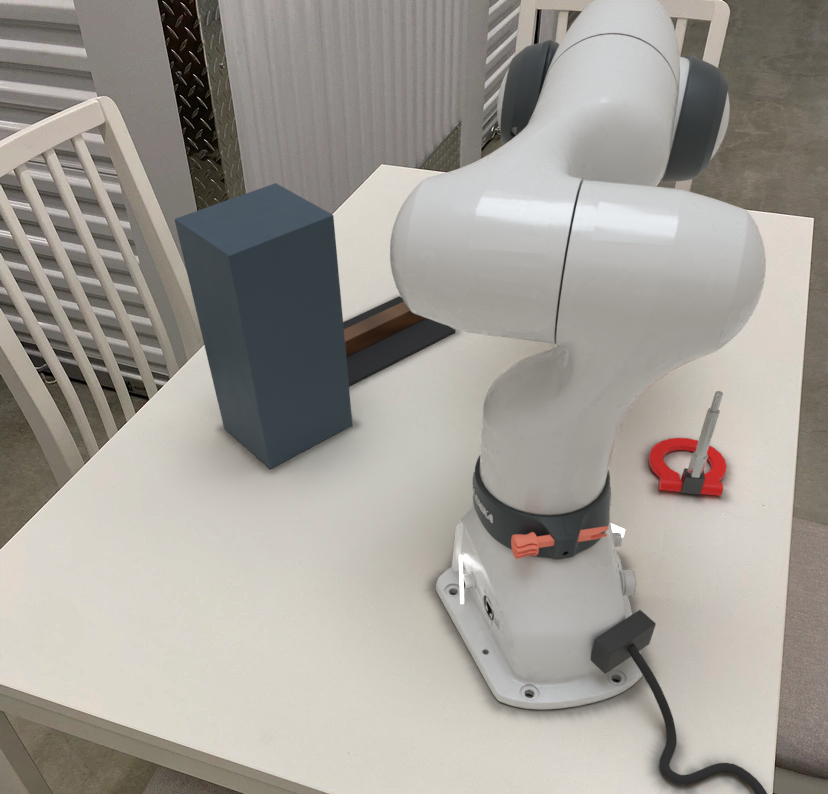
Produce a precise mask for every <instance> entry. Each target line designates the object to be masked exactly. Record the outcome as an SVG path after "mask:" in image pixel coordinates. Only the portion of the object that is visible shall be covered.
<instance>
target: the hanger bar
mask: <svg viewBox="0 0 828 794" xmlns="http://www.w3.org/2000/svg"><path fill="white" fill-rule="evenodd" d="M423 319H425V317H422V316H420V315H417V314H414V313H413V312H411V311H410V309H409V308H408V307H407V305H406V304H405V302H402V303H400V304H398V305H396V306H393V307H391V308H389V309H387V310H385V311H383V312H381V313H378V314H376V315H374V316H372V317H370V318H368V319H365V320H363V321H361V322H359V323H357V324H355V325H353V326H350V327H348V328H346V329H344V338H345V348H346V357H347V356H349V355H351V354H353V353H355V352H357V351H359V350H362V349H364V348H366V347H368V346H370V345H372V344H374V343H376V342H378V341H380V340H382V339H384V338H386V337H388V336H390V335H392V334H395V333H397V332H399V331H401V330H403V329H405V328H407V327H409V326H411V325H413V324H415V323H417V322H419V321H421V320H423Z"/></svg>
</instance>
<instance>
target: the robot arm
mask: <svg viewBox="0 0 828 794" xmlns="http://www.w3.org/2000/svg"><path fill="white" fill-rule="evenodd" d="M728 90H729V82H728V80H727V78H726V77H725V76H724V74H723V72H722V71H721V70H720V68H719V67H718V66H716V65H713V64H712V63H710V62H707V61H705V60H703V59H701V58H698V56H696V55H695V54H694V53H690V56H688V55H683V56H680V51H679V42H678V38H677V34H676V30H675V25H674V22H673V19H672V18H671V16H670V14H669V13H668V11H667V9H666V8H665V7H664V6H663V5H662V3H660V2H659V0H593V1H592V2H590V3H588V4H587V6H585V8H583V10H582V11H581V12H580V13H579V14H578V15H577V17H576V18H575V19H574V21H573V22H572V23H571V25H570V26H569V28H568V29H567V31H566V33H565V34H564V36H563V38H562V39H561V41H560V43H559V42H557V41H554V40H551V39H548V40H543V42H539V43H533V44H531V45H527V46H525V47H524V48H523V49H522V50H520V51H519V52H518V53H517V54H515V56H514V57H512V59H511V61H510V63H509V67H508V69H507V71H506V72H505V75H504V77H503V79H502V82H501V84H500V87H499V91H498V96H497V102H496V105H497V106H496V119H497V125H498V130H499V134H500V135H499V136H500V142H501V144H502V146H500V147H498V148H497V149H495V150H494V151H492V152H491V153H489V154H487V155H485V156H483V157H482V158H479V159H478V160H476V161H474V162H471V163H469V164H467V165H464V166H462V167H460V168H456V169H453V170H450V171H447V172H444V173H440V174H437V175H432V176H429V177H426V178H424V179H423V180H421V182H419V184H417V185H416V186H415V187H414V189H412V191H411V192H410V193H409V195H408V196H407V197H406V198H405V200H404V201H403V203H402V205H401V207H400V209H399V210H398V213H397V215H396V218H395V220H394V223H393V226H392V230H391V235H390V242H389V262H390V270H391V276H392V278H393V281H394V285H395V287H396V289H397V291H398V294H399V296H400V297H401V298H402V299H403V301H404V302H405V304H406V305H407V307H408V308H409V309H410V311H411V312H413V313H414V314H417V315H420V316H422V317H425V318H428V319H430V320H433V321H436V322H439V323H441V324H444V325H447V326H450V327H451V328H453V329H455V330H459V331H462V332H465V333H468V334H474V335H475V334H477V335H482V336H483V335H484V336H491V337H498V338H504V339H512V340H513V339H514V340H521V341H527V342H535V343H543V344H549V345H550V344H551V345H556V346H555V347H552V348H550V349H548V350H545V351H542V352H538V353H535V354H532V355H530V356H527V357H525V358H522V359H520V360H519V361H517V362H515V363H514V364H512V365H511V366H509V367H508V368H507V369H505V371H504V372H502V373H501V374H499V376H498V377H497V378H496V379H495V380H494V381H493V383H492V384H491V385H490V387H489V389H488V391H487V392H486V395H485V396H484V397H485V398H484V400H483V404H482V419H481V435H480V453H479V455H478V457H477V459H476V462H475V466H474V472H473V475H472V482H471V483H472V484H471V488H472V503H471V505H470V506H469V508H468V509H467V511H466V512H465V513H464V514H463V515H462V517H461V519H459V521H458V522H457V524H456V526H455V531H454V533H455V534H454V541H453V551H452V560H451V565H450V567H449V568H447V569H446V570H444V572H443V573H441V574H440V575H439V577H438V578H437V580H436V585H435V591H436V593H437V595H438V597H439V599H440V601H441V603H442V604H443V606H444V608H445V610H446V612H447V613H448V615H449V617H450V619H451V621H452V623H453V624H454V626H455V628H456V630H457V632H458V634H459V636H460V637H461V639H462V642H464V644H465V646H466V648H467V650H468V652H469V654H470V656H471V657H472V659H473V660H474V663H475V664H476V666H477V668H478V670H479V672H480V673H481V676H482V677H483V679H484V681H485V683H486V684H487V686H488V688H489V689H490V691H491V694H492V695H493V696H494V698H495V699H496V700H497V701H498V702H500V703H502V704H505V705H508V706H512V707H514V708H515V707H516V708H520V709H527V710H528V709H529V710H554V709H555V710H557V709H558V710H559V709H567V708H574V707H580V706H584V705H588V704H595V703H598V702H601V701H604V700H607V699H610V698H613V697H615V696H618V695H620V694H621V693H622V694H623V692H625V691H627V690H629V689H630V688H631V687H633V686H634V685H635V684H636V683H637V682H638V681H640V679H641V678H642V677H643V678H644V679H645V682H646V683H647V684H648V687H649V688H650V690H651V693H653V697H654V699H655V701H656V703H657V705H658V708H659V710H660V713H661V716H662V718H663V722H664V726H665V731H666V743H665V746H664V749H663V751H662V752H661V754H660V755H661V756H660V758H659V771H660V772H661V774H662V775H663V776H664V777H665V778H666V780H669V781H670V782H671V783H673V784H676V785H679V786H689V785H695V784H697V783H699V782H702V781H704V780H707V779H709V778H711V777H714V776H716V775H719V774H726V773H727V774H732V775H735V776H737V777H738V778H739V779H741V780H742V781H743V782H745V783H746V784H747V785H748V786H749V787H750V788H751V789H752V791H753V793H754V794H768V792H767V790H766V789H765V787H764V786H763V785H762V784H761V782H760V781H759V780H758V779H757V778H756V777H755V776H754V775H752V774H751V772H749V771H747V770H746V769H745V768H743V767H742V766H739V765H737V764H735V763H730V762H718V763H714V764H711V765H708V766H706V767H703V768H701V769H699V770H697V771H695V772H691V773H687V774H680V773H677V772H675V771H674V770H672V768H671V766H670V762H671V759H672V758H673V755H674V753H675V750H676V747H677V732H676V731H677V730H676V725H675V721H674V717H673V713H672V710H671V708H670V705H669V703H668V701H667V698H666V696H665V693H664V691H663V689H662V687H661V685H660V683H659V682H658V680H657V678H656V676H655V674H654V673H653V671H652V669H651V668H650V666H649V665H648V662H646V660H645V658H644V657H643V656H642V653H641V651H642V650H643V649H644V648H646V647H647V646H649V645H650V644H651V639H652V637H653V634H654V631H655V628H656V625H657V623H656V622H655V621H654V620H653V619H652V618H650V617H649V616H648V615H647V614H646V613H645V612H643V610H641V609H639V610H637V611H635V612H634V613H633V612H632V607H631V601H630V598H629V596H633V595H635V594H636V591H637V577H636V573H635V571H633V570H631V569H627V570H624V569H623V565H622V562H621V557H620V555H619V554H618V553H617V551H616V548H619V547H621V546H622V545H623V544H622V543H623V538H624V536H625V532H626V529H625V528H623V527H621V526H618V525H616V524H614V523H612V522H611V517H610V516H611V515H610V512H611V510H610V509H611V506H612V492H611V491H612V487H611V475H610V469H609V468H610V464H611V460H612V456H613V453H614V449H615V446H616V443H617V440H618V436H619V433H620V430H621V427H622V425H623V422H624V420H625V418H626V416H627V414H628V413H629V411H630V410H631V408H632V407H633V406H634V404H635V403H636V402H637V401H638V400H639V398H640V397H641V396H642V395H643V394H644V393H645V392H647V391H649V389H650V388H651V387H652V386H654V384H656V383H658V382H659V381H660V380H661V379H663V378H664V377H666V376H668V374H670V373H673V371H675V370H677V369H679V368H681V367H683V366H684V365H686V364H688V363H691V362H694V361H696V360H698V359H700V358H703V357H704V358H705V357H706V356H709V355H712V354H714V353H716V352H718V351H719V350H721V349H722V348H724V347H725V346H727V344H729V343H730V342H731V341H732V340H733V339H734V338H735V337H736V336H738V334H739V333H740V332H741V331H742V330H743V329H744V327H745V326H746V325H747V323H748V322H749V320H750V319H751V317H752V316H753V314H754V312H755V310H756V308H757V306H758V304H759V301H760V299H761V296H762V293H763V289H764V285H765V281H766V280H765V279H766V271H767V268H766V267H767V258H766V251H765V244H764V241H763V237H762V234H761V232H760V230H759V227H758V225H757V224H756V223H757V222H755V219H754V218H753V217H752V215H751V214H750V213H749V211H748V210H747V209H745V208H743V207H740V206H737V205H734V204H731V203H729V202H725V201H722V200H719V199H716V198H713V197H711V196H706V195H703V194H700V193H696V192H693V191H689V190H687V189H683V188H676V187H675V188H674V187H665V186H658V185H659V183H660V182H661V180H662V182H663V183H675V182H676V183H678V182H685V181H691V180H696V178H698V177H699V176H700V175H701V174H702V173H704V172H705V171H706V170H707V169H708V168H709V165H710V162H711V160H712V159H713V158H714V157H715V155H716V154H717V153H718V151H719V150H720V147H721V146H722V144H723V141H724V139H725V136H726V134H727V131H728V126H729V121H730V114H731V113H730V112H731V111H730V110H731V109H730V108H731V107H730V106H731V104H730V96H729V91H728ZM614 680H617V681H618V682H616V681H614ZM526 695H531V696H532V697H527V696H526Z"/></svg>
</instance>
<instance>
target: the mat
mask: <svg viewBox="0 0 828 794" xmlns="http://www.w3.org/2000/svg"><path fill="white" fill-rule="evenodd" d="M402 302H404V301H403V299H402V297H401V296H400V295H399V296H397V297H394V298H392V299H390V300H388V301H386V302H384V303H381V304H379V305H377V306H375V307H373V308H370V309H369V310H367V311H364V312H362V313H360V314H357V315H355V316H354V317H352V318H349V319H347V320H345V321H343V327H344V329H346V328H348V327H350V326H353V325H355V324H357V323H359V322H361V321H363V320H365V319H368V318H370V317H372V316H374V315H376V314H378V313H381V312H383V311H385V310H387V309H389V308H391V307H393V306H396V305H398V304H400V303H402ZM455 333H456V328H453V327H450V326H447V325H444V324H441V323H439V322H436V321H433V320H430V319H428V318H425V319H423V320H421V321H419V322H417V323H415V324H413V325H411V326H409V327H407V328H405V329H403V330H401V331H399V332H397V333H395V334H392V335H390V336H388V337H386V338H384V339H382V340H380V341H378V342H376V343H374V344H372V345H370V346H368V347H366V348H364V349H362V350H359V351H357V352H355V353H353V354H351V355H349V356H347V357H346V359H347V370H348V381H349V387H351V386H353V385H354V384H357V383H359V382H360V381H363V380H364V379H366V378H368V377H371V376H372V375H375V374H376V373H378V372H381V371H383V370H384V369H386V368H389V367H390V366H392V365H394V364H396V363H398V362H400V361H403V360H405V359H406V358H408V357H410V356H412V355H414V354H416V353H418V352H419V351H421V350H423V349H425V348H427V347H429V346H431V345H433V344H436V343H437V342H439V341H442V340H443V339H445V338H447V337H449V336H451V335H454V334H455Z"/></svg>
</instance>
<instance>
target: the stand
mask: <svg viewBox="0 0 828 794" xmlns="http://www.w3.org/2000/svg"><path fill="white" fill-rule="evenodd" d="M173 219H174V224H175V228H176V233H177V236H178V241H179V245H180V249H181V254H182V258H183V262H184V267H185V270H186V274H187V279H188V282H189V283H188V284H189V287H190V291H191V296H192V300H193V303H194V307H195V312H196V316H197V320H198V324H199V329H200V333H201V338H202V341H203V346H204V350H205V354H206V358H207V363H208V366H209V367H208V368H209V371H210V374H211V375H210V376H211V379H212V383H213V387H214V391H215V397H216V400H217V404H218V409H219V412H220V417H221V421H222V426H223V429H224V430H225V431H226V432H227V433H229V434H230V435H231V436H232V437H233V438H234V439H235V440H236V441H238V442H239V443H240V444H241V445H242V446H244V447H245V448H246V450H248V451H249V452H250V453H252V454H253V456H255V457H256V458H257V459H258V460H259V461H261V463H263V464H264V465H265V466H266V467H267V468H269V470H271V469H273V468H275V467H277V466H279V465H281V464H283V463H285V462H286V461H288V460H290V459H292V458H293V457H296V456H298V455H299V454H301V453H304V452H305V451H307V450H309V449H311V448H313V447H315V446H316V445H318V444H320V443H322V442H324V441H326V440H328V439H330V438H332V437H333V436H335V435H337V434H339V433H341V432H342V431H345V430H346V429H348V428H350V427H352V426H353V417H352V405H351V394H350V392H351V391H350V386H349V381H348V370H347V359H346V348H345V338H344V327H343V322H344V317H343V306H342V295H341V284H340V283H341V282H340V273H339V262H338V261H339V260H338V251H337V241H336V229H335V228H336V227H335V220H334V219H335V218H334V214H332V213H330V212H329V211H327V210H325V209H323V208H321V207H319V206H318V205H316V204H314V203H313V202H310V201H309V200H307V199H305V198H304V197H302V196H301V195H299V194H297V193H294V192H293V191H291V190H289V189H287V188H286V187H284V186H282V185H280V184H278V183H276V182H275V183H272V184H269V185H266V186H264V187H259V188H258V189H255V190H252V191H249V192H245V193H244V194H241V195H238V196H236V197H232V198H230V199H227V200H224V201H221V202H218V203H215V204H213V205H210V206H206V207H203V208H201V209H199V210H195V211H193V212H190V213H187V214H184V215H182V216H179V217H176V218H173Z"/></svg>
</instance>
